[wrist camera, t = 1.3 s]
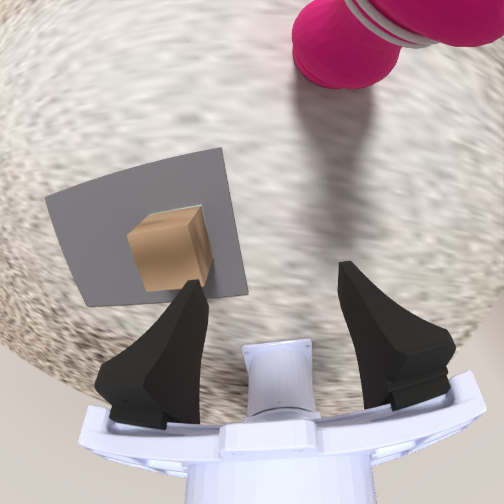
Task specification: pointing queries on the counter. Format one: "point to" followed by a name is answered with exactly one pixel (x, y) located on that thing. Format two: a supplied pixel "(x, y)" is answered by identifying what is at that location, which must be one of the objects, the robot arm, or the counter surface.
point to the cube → (172, 248)
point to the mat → (134, 212)
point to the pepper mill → (384, 35)
